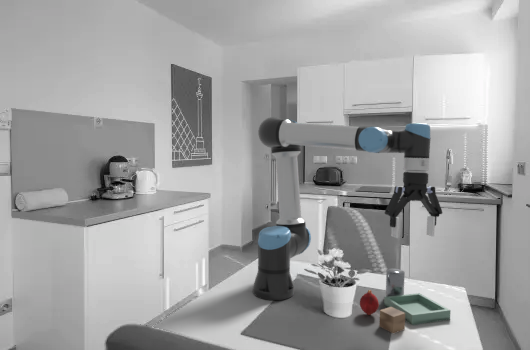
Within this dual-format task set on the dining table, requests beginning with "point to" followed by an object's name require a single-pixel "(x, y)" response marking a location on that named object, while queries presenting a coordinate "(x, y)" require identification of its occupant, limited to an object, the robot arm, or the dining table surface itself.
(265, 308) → the dining table surface
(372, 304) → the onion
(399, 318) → the walnut block
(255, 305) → the dining table surface
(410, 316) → the tray
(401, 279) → the metal can
